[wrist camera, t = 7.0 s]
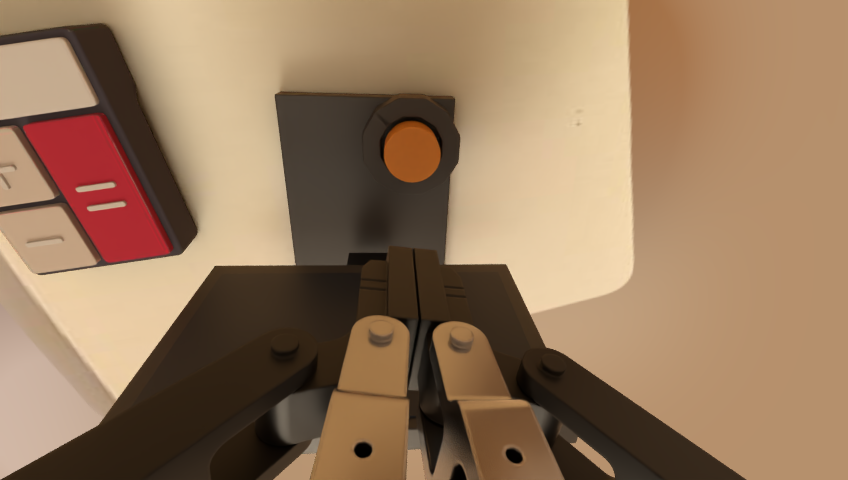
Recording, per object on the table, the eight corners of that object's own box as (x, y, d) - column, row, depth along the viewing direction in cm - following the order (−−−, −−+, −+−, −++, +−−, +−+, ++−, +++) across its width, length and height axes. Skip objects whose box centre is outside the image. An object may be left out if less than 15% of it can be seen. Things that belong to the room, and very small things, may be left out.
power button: (384, 119, 27) (383, 126, 25) (438, 120, 27) (442, 127, 26) (384, 172, 29) (384, 182, 27) (436, 173, 29) (439, 183, 27)
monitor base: (278, 87, 28) (266, 94, 26) (456, 92, 29) (463, 99, 27) (300, 277, 35) (293, 298, 33) (444, 276, 36) (448, 296, 34)
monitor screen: (214, 263, 25) (85, 438, 15) (506, 262, 27) (583, 421, 16) (220, 290, 26) (102, 474, 15) (502, 288, 27) (573, 454, 17)
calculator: (27, 283, 30) (-146, 56, 22) (67, 251, 33) (-69, 47, 26) (180, 260, 30) (60, 26, 22) (203, 231, 33) (107, 21, 26)
